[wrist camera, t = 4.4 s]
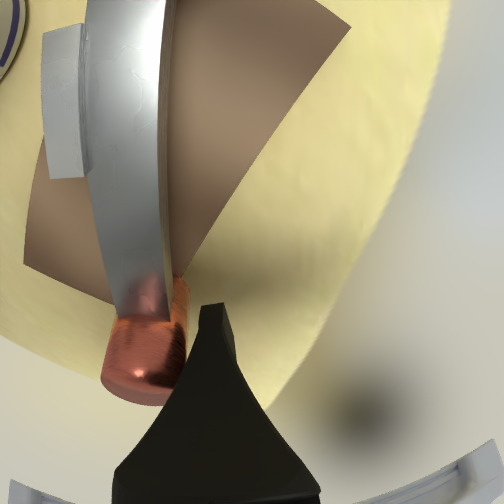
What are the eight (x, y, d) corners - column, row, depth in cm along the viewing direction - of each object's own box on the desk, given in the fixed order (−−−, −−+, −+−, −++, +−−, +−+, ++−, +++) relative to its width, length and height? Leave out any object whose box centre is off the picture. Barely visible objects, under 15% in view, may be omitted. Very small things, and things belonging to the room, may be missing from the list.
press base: (161, -60, 5) (123, -127, 1) (339, 29, 8) (427, 17, 4) (32, 251, 11) (-14, 327, 7) (158, 305, 14) (146, 394, 10)
